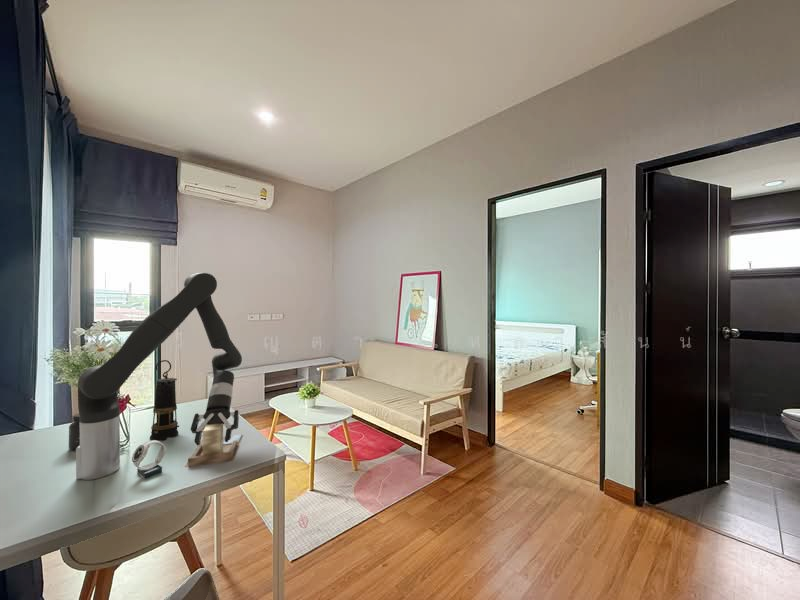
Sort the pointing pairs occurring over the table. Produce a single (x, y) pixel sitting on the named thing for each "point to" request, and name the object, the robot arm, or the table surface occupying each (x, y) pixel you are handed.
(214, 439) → the birch block
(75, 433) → the supplement bottle
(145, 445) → the watch
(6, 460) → the table surface
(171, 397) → the lantern
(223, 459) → the brown wooden flat tray
